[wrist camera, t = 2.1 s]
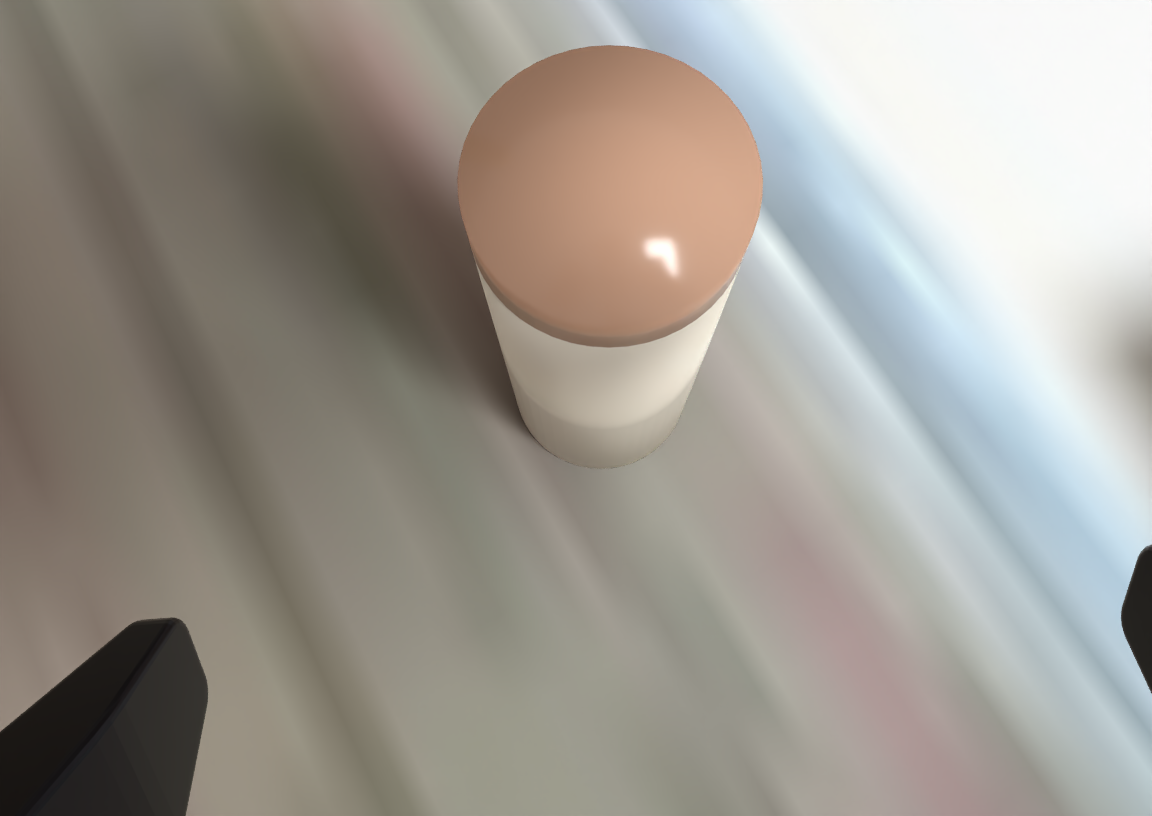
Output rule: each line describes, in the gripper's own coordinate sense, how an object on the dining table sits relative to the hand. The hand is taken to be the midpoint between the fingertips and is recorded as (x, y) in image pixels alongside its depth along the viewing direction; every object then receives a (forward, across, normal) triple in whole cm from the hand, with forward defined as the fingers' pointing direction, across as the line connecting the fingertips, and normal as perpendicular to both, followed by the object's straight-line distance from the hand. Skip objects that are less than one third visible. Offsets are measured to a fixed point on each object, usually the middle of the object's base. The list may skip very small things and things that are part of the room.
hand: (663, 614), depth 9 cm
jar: (+12, 0, +5) cm, 13 cm away
